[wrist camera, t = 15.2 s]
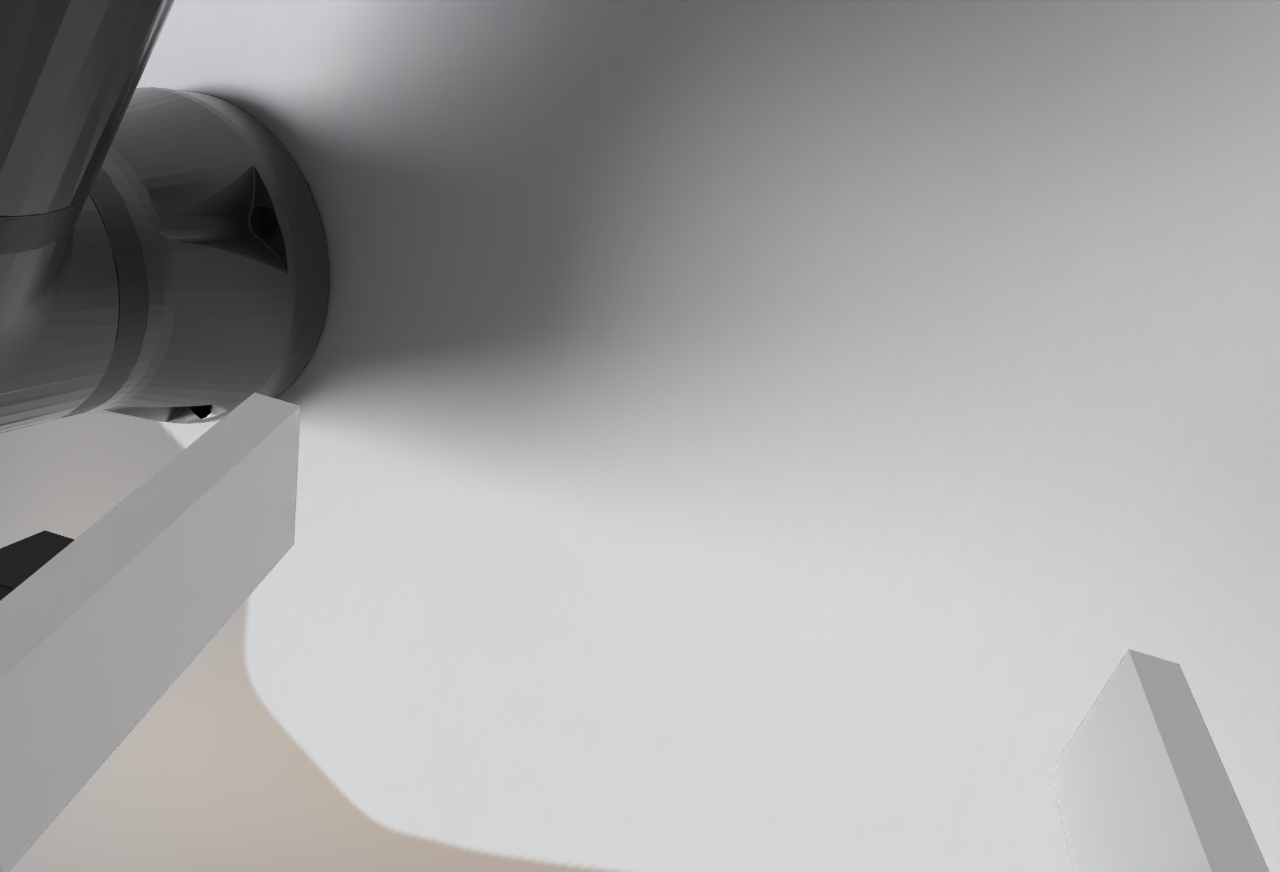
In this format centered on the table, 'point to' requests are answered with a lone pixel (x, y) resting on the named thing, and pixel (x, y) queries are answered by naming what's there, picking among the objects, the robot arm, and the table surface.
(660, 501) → the table surface
